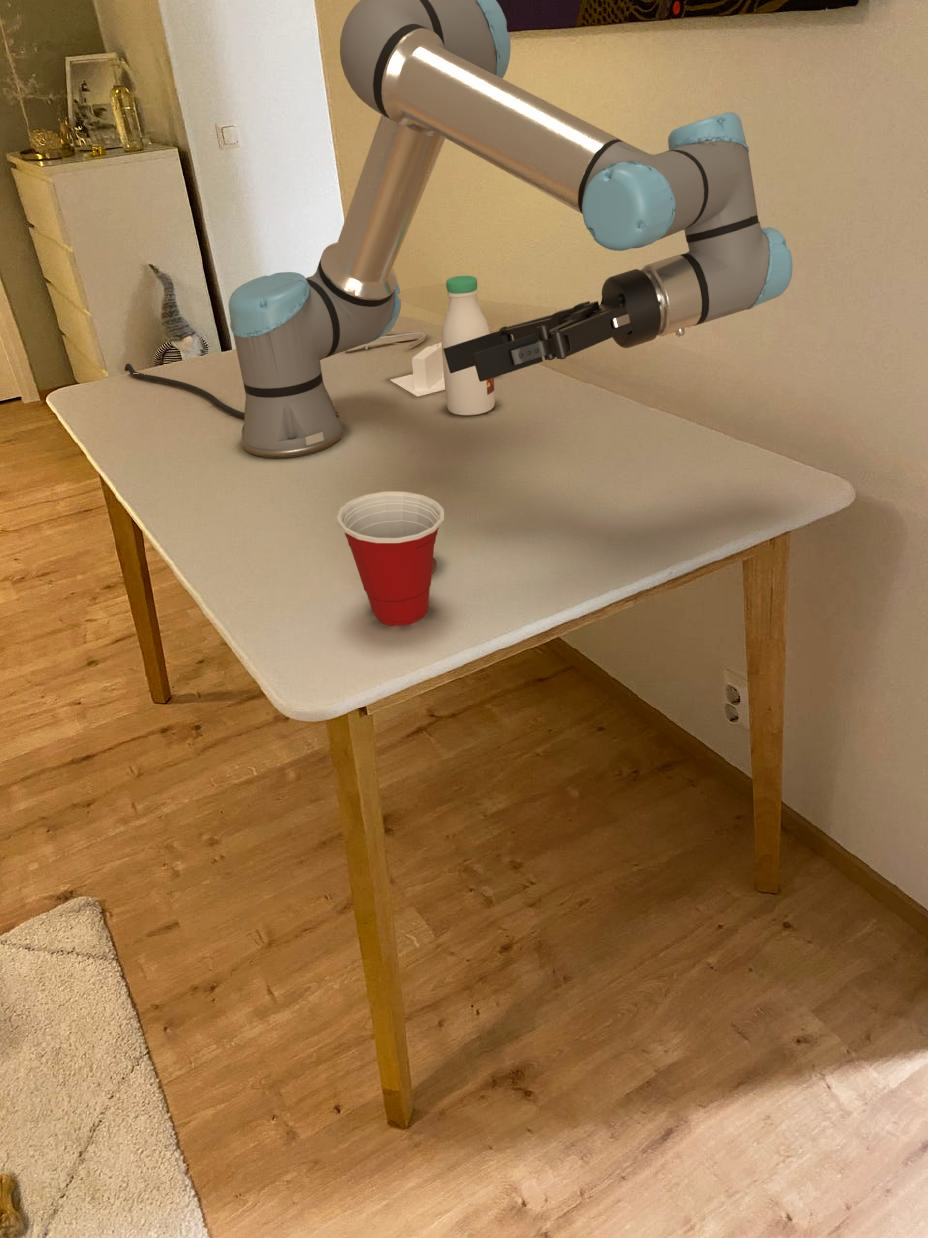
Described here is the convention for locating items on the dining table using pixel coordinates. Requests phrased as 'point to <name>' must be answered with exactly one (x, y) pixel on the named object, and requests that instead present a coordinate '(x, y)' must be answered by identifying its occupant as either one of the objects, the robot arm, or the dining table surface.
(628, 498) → the dining table surface
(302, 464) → the dining table surface
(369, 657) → the dining table surface
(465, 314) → the milk bottle
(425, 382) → the napkin holder
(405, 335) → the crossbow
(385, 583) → the plastic cup
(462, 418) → the dining table surface
